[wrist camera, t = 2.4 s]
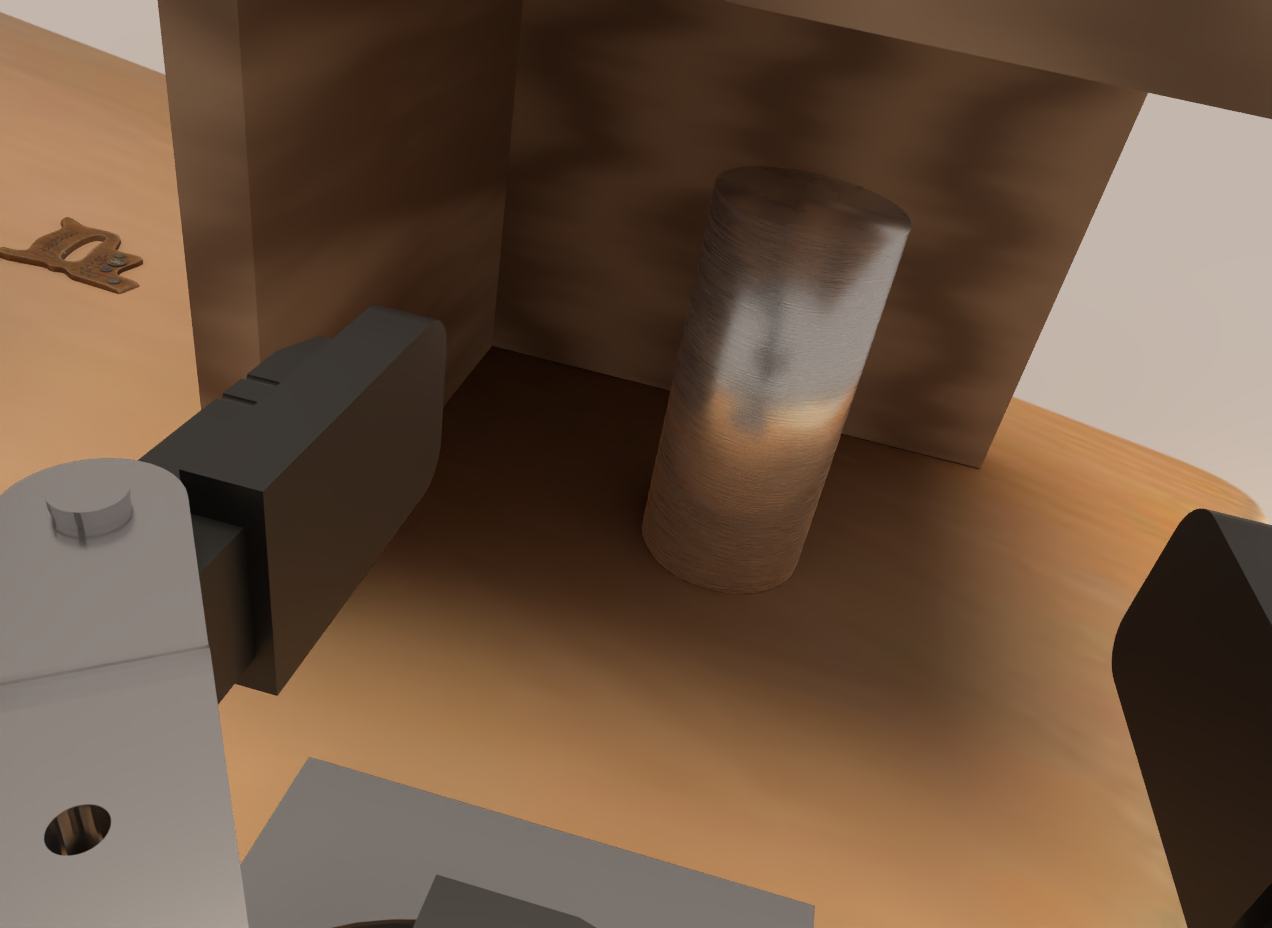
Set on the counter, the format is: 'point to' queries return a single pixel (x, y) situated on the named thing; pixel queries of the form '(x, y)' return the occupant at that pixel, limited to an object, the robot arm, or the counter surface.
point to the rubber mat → (466, 864)
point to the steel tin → (767, 371)
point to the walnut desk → (662, 168)
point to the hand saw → (91, 270)
